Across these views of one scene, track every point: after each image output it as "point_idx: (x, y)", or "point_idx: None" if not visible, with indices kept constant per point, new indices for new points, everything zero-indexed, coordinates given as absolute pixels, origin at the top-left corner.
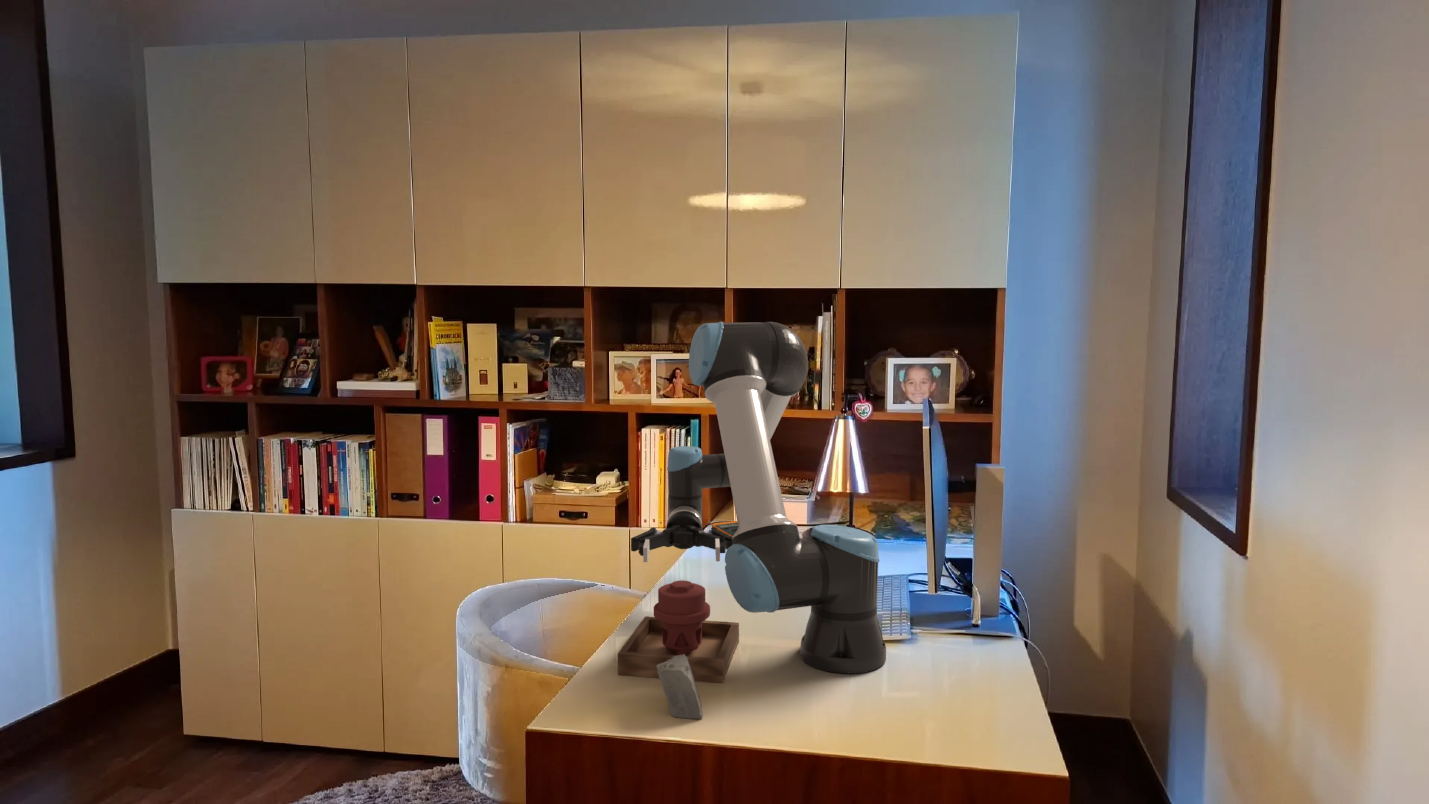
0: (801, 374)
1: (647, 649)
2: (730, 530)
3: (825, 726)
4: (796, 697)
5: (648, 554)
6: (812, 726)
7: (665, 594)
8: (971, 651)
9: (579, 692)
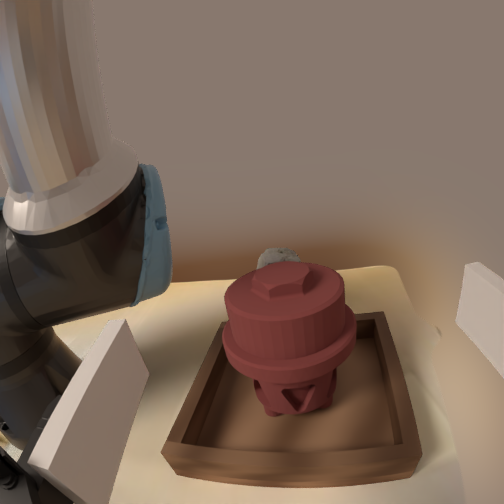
0: None
1: (366, 388)
2: None
3: (148, 302)
4: (150, 332)
5: (501, 359)
6: (158, 301)
7: (314, 264)
8: None
9: (401, 301)
